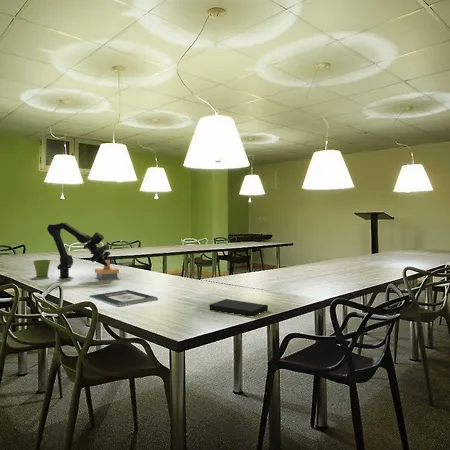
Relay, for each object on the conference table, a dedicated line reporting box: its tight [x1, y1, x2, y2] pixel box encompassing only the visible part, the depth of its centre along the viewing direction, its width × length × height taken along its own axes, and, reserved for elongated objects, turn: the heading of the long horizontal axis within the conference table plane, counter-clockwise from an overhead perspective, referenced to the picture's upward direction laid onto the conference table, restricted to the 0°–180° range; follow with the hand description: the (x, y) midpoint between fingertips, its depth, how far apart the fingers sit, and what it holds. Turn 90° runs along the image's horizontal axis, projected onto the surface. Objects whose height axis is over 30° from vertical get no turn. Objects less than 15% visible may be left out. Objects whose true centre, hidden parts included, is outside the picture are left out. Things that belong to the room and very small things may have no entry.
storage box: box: [96, 273, 118, 281], centre depth 269 cm, size 11×11×6 cm
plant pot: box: [32, 259, 52, 278], centre depth 281 cm, size 12×12×11 cm
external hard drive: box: [209, 298, 269, 317], centre depth 181 cm, size 14×23×3 cm, turn 56°
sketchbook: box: [89, 289, 158, 307], centre depth 207 cm, size 23×32×2 cm
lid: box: [94, 259, 120, 274], centre depth 268 cm, size 13×13×8 cm
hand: (108, 265), depth 268 cm, fingers closed on lid, 4 cm apart
